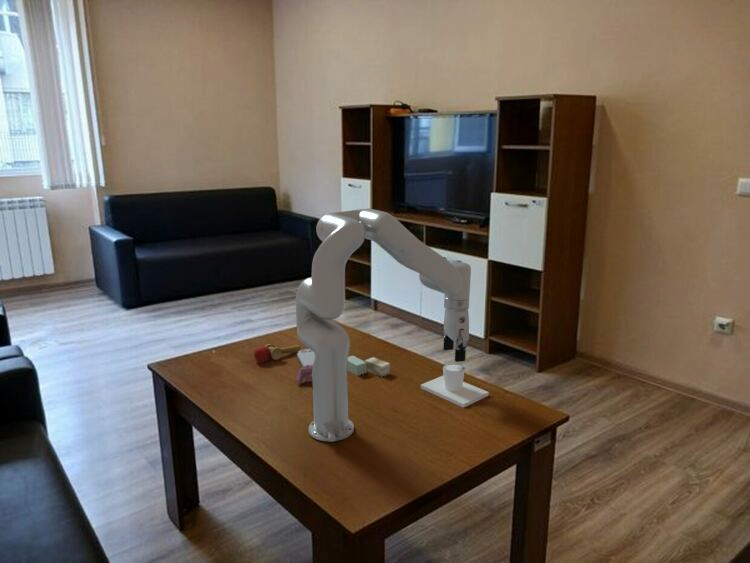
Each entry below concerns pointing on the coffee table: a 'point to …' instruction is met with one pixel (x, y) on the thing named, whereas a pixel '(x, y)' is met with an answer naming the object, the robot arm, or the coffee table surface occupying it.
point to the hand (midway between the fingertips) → (453, 355)
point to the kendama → (273, 352)
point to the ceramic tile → (460, 398)
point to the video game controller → (305, 374)
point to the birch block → (377, 366)
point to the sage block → (356, 365)
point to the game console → (306, 357)
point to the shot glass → (453, 377)
